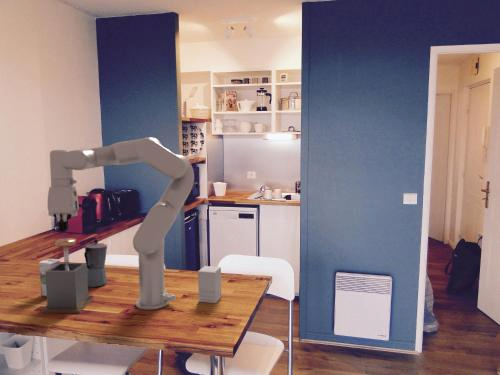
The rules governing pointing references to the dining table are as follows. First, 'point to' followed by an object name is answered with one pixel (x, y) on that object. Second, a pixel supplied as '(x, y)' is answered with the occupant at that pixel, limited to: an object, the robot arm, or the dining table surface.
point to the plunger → (65, 249)
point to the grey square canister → (67, 289)
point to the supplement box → (209, 284)
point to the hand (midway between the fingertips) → (63, 231)
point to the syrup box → (44, 267)
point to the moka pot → (96, 263)
